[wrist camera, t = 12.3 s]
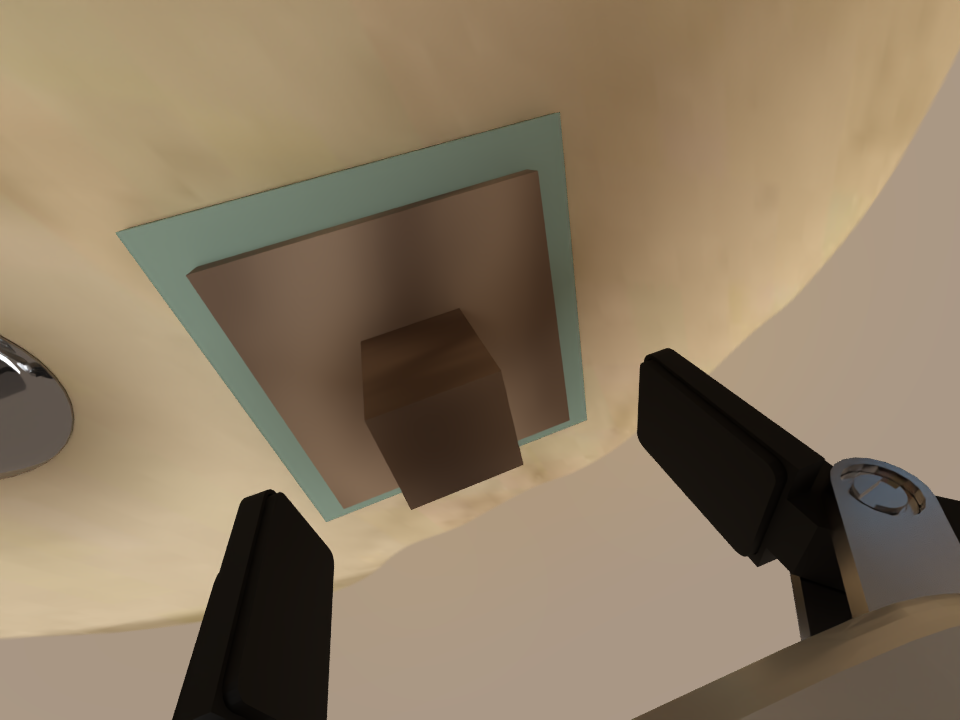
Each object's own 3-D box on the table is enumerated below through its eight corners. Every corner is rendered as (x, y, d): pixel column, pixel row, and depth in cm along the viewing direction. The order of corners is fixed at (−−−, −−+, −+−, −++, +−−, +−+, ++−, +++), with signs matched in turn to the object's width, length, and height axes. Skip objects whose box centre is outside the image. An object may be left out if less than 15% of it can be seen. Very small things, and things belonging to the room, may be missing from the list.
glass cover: (526, 169, 14) (622, 182, 9) (560, 409, 21) (628, 493, 16) (196, 266, 13) (96, 346, 8) (344, 493, 19) (341, 616, 14)
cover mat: (552, 113, 14) (559, 112, 14) (581, 413, 22) (586, 419, 22) (125, 229, 12) (115, 232, 12) (327, 512, 20) (326, 522, 20)
